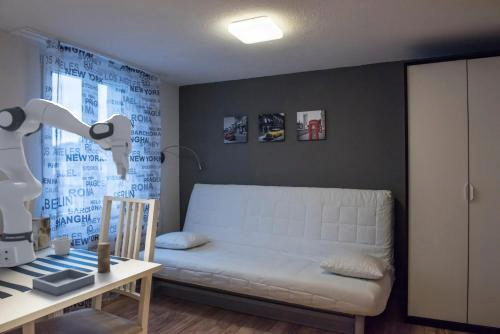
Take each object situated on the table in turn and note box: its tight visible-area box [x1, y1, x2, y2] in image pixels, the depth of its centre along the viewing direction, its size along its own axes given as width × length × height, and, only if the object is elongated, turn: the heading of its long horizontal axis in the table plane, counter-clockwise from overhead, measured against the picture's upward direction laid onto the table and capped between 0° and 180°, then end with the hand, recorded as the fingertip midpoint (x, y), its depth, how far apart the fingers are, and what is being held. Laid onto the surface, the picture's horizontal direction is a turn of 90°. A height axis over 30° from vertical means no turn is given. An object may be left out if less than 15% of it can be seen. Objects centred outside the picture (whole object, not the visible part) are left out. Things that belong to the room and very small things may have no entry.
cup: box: [49, 236, 72, 256], centre depth 177 cm, size 11×8×8 cm
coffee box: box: [32, 216, 52, 251], centre depth 189 cm, size 9×6×16 cm
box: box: [31, 267, 96, 297], centre depth 135 cm, size 15×15×4 cm
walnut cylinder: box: [97, 242, 111, 274], centre depth 152 cm, size 5×5×12 cm
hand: (121, 177), depth 157 cm, fingers open, 8 cm apart
